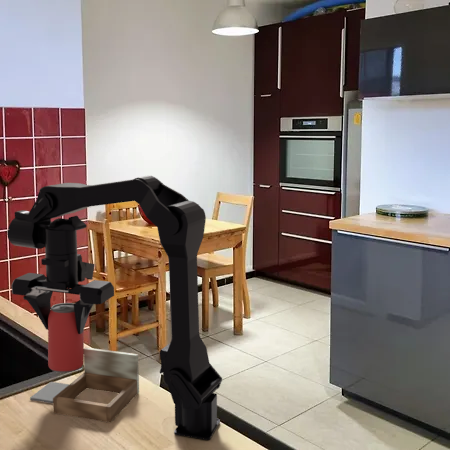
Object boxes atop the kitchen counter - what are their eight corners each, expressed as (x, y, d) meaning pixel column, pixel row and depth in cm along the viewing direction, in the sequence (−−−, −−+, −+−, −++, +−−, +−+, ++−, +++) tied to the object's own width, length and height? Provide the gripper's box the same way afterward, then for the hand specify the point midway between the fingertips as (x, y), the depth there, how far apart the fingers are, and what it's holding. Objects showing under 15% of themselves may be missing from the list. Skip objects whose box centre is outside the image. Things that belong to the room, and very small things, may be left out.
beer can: (71, 358, 116) (71, 300, 114) (90, 367, 112) (90, 307, 110) (41, 366, 111) (41, 306, 110) (60, 376, 107) (60, 313, 105)
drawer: (139, 392, 114) (138, 354, 113) (110, 422, 103) (109, 381, 102) (86, 384, 118) (85, 347, 116) (53, 413, 106) (51, 372, 105)
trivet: (79, 388, 116) (79, 385, 116) (59, 404, 109) (59, 402, 109) (51, 383, 118) (50, 381, 118) (30, 399, 111) (30, 397, 111)
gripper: (126, 246, 112) (127, 322, 115) (42, 238, 117) (46, 311, 120) (98, 260, 101) (100, 343, 104) (7, 251, 107) (12, 330, 110)
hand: (64, 331), depth 110 cm, fingers closed on beer can, 6 cm apart
